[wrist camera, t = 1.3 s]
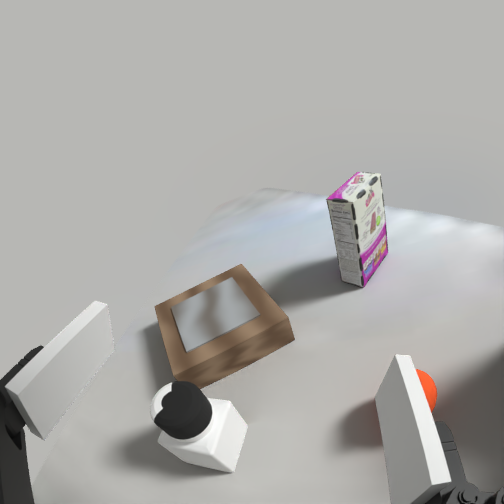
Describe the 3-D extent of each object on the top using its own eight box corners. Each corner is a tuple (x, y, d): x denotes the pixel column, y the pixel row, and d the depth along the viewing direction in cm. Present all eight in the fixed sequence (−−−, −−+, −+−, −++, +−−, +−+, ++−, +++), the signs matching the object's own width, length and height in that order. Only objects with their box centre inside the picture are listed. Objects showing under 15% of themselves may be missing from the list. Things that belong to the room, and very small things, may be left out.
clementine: (415, 451, 25) (427, 428, 21) (363, 434, 29) (363, 409, 26) (438, 394, 29) (449, 363, 26) (389, 381, 34) (393, 349, 30)
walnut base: (249, 284, 60) (240, 262, 57) (294, 339, 45) (287, 315, 42) (166, 325, 56) (153, 305, 54) (188, 394, 41) (172, 374, 39)
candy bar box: (366, 248, 59) (356, 170, 50) (388, 253, 55) (382, 172, 47) (338, 282, 53) (324, 197, 45) (363, 289, 50) (353, 201, 41)
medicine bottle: (249, 425, 35) (214, 376, 29) (234, 473, 29) (190, 437, 23) (200, 418, 37) (158, 369, 31) (183, 462, 32) (131, 422, 26)
